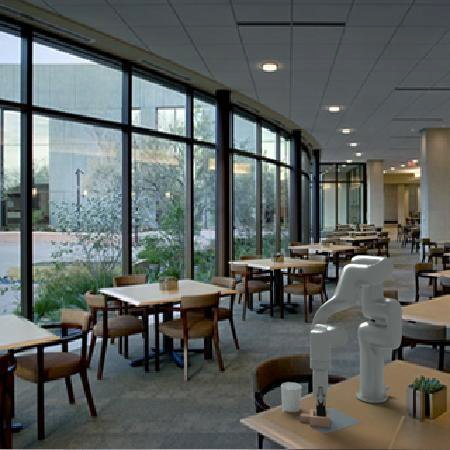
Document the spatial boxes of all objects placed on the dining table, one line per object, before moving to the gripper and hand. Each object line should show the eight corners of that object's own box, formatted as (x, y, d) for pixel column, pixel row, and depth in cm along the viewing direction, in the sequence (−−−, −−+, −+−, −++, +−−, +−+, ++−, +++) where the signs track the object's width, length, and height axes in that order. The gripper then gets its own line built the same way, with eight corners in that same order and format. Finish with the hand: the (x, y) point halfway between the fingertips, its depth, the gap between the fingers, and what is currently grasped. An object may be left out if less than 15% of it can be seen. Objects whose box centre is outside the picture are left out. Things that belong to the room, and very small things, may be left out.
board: (330, 410, 185) (330, 397, 185) (362, 425, 171) (362, 411, 171) (294, 420, 176) (294, 406, 176) (324, 437, 162) (325, 422, 162)
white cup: (301, 416, 179) (301, 390, 179) (280, 414, 181) (280, 388, 181) (301, 408, 187) (302, 383, 187) (281, 406, 188) (281, 381, 188)
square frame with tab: (300, 424, 169) (300, 415, 169) (300, 416, 176) (301, 408, 176) (329, 427, 167) (329, 418, 167) (329, 418, 174) (329, 410, 174)
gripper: (310, 355, 181) (311, 400, 181) (309, 371, 164) (309, 420, 164) (330, 356, 179) (331, 401, 180) (331, 372, 162) (332, 421, 163)
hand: (321, 410), depth 172 cm, fingers open, 9 cm apart
